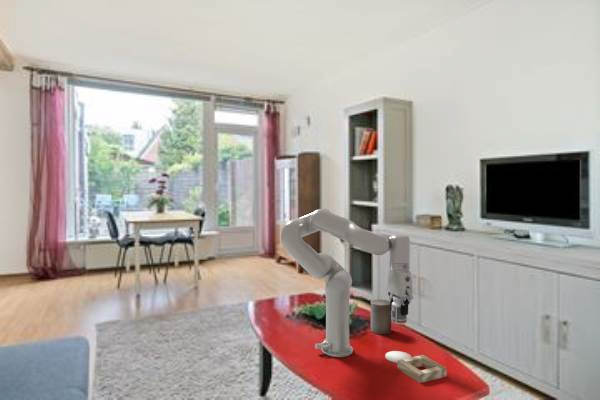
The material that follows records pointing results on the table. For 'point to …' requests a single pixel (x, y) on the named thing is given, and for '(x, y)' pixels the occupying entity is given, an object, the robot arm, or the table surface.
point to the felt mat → (396, 356)
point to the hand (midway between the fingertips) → (399, 311)
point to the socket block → (428, 374)
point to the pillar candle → (380, 316)
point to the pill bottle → (398, 311)
